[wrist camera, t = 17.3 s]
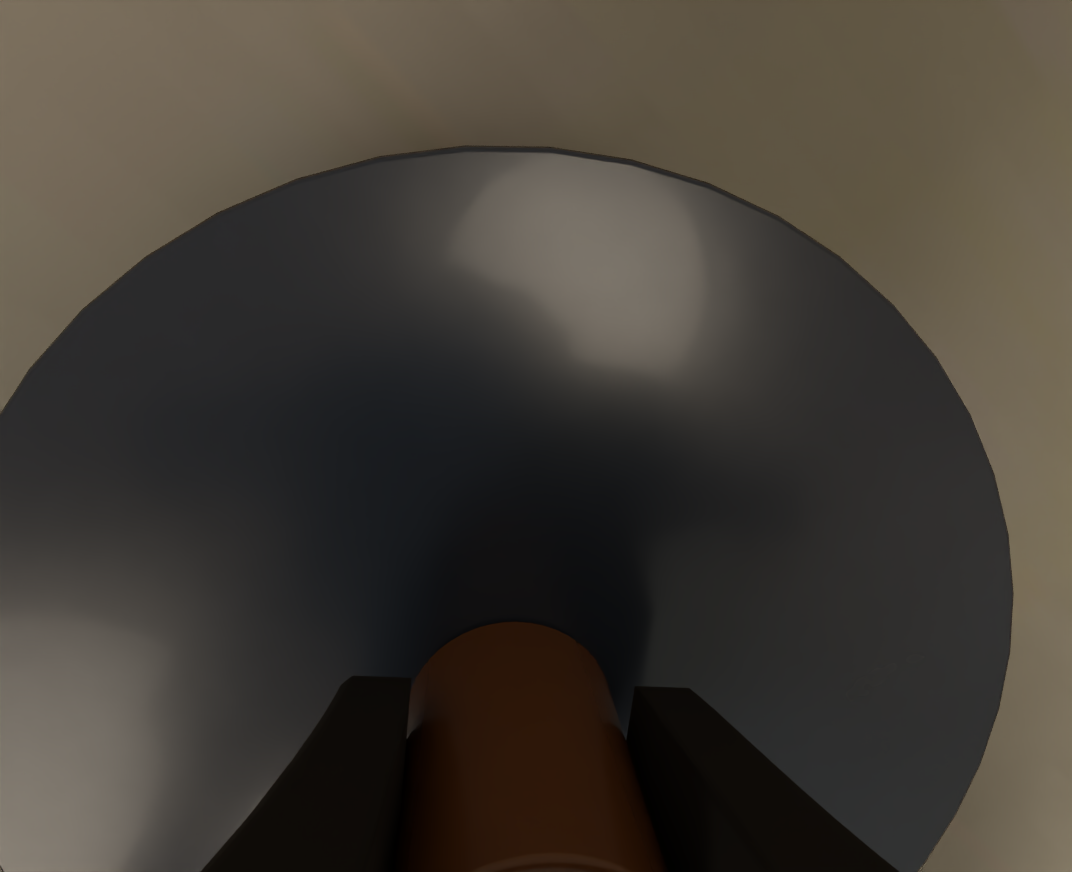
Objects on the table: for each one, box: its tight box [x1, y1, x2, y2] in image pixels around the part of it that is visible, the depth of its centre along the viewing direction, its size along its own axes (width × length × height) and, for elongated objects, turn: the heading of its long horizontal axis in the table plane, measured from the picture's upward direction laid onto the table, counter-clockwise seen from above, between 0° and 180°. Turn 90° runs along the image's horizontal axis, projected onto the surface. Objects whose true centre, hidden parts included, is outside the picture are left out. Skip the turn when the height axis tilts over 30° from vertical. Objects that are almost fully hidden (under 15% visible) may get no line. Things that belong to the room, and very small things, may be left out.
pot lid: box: [0, 146, 1013, 872], centre depth 8 cm, size 13×13×5 cm
